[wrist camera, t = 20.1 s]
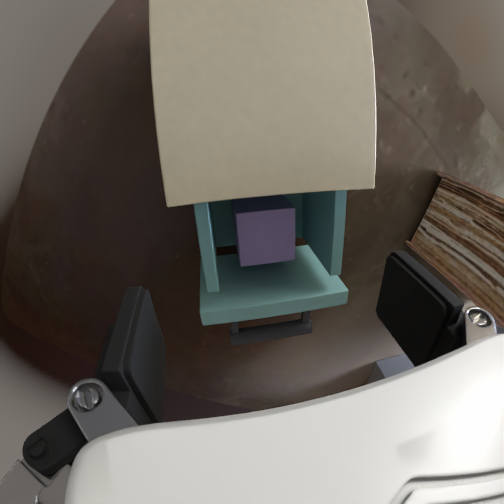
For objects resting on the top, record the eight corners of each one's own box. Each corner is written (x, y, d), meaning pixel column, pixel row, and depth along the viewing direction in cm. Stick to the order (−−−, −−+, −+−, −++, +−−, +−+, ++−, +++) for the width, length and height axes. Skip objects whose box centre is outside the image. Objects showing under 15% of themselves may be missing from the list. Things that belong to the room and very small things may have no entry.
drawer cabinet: (318, 161, 24) (374, 189, 16) (182, 172, 23) (166, 208, 14) (310, 15, 18) (362, -25, 9) (169, 19, 17) (149, -31, 8)
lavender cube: (235, 243, 24) (240, 267, 21) (231, 197, 22) (235, 213, 19) (282, 238, 25) (295, 259, 21) (281, 192, 23) (295, 207, 19)
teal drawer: (311, 297, 29) (339, 349, 22) (210, 311, 28) (213, 371, 21) (314, 118, 21) (360, 123, 15) (183, 127, 20) (170, 132, 14)
